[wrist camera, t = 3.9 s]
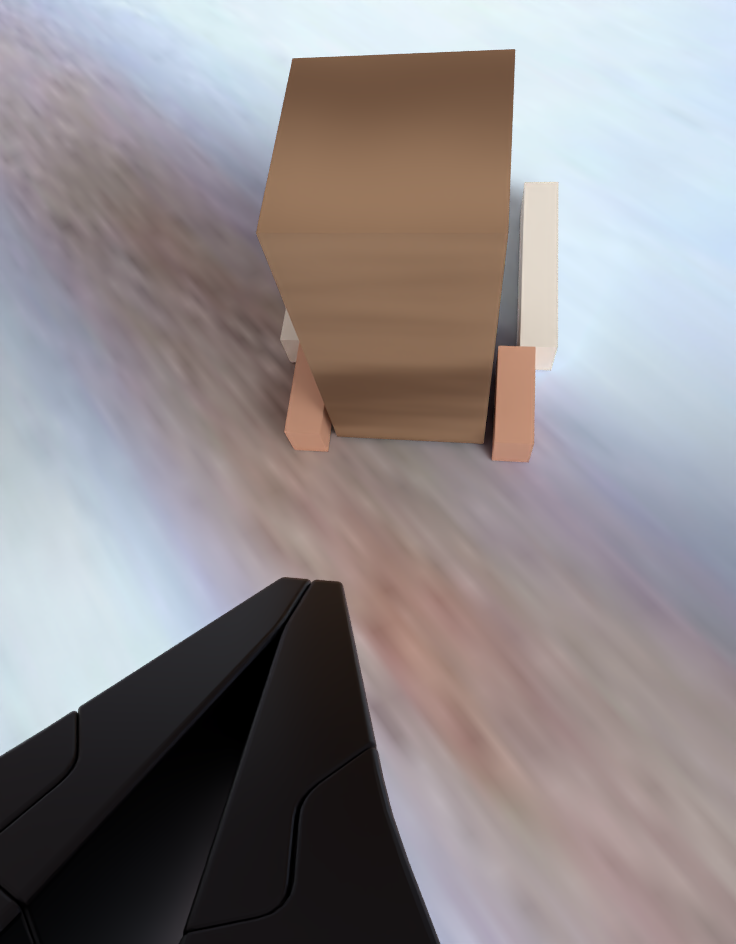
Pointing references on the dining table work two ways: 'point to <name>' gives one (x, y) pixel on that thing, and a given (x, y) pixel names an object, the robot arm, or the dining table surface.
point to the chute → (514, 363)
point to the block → (394, 234)
